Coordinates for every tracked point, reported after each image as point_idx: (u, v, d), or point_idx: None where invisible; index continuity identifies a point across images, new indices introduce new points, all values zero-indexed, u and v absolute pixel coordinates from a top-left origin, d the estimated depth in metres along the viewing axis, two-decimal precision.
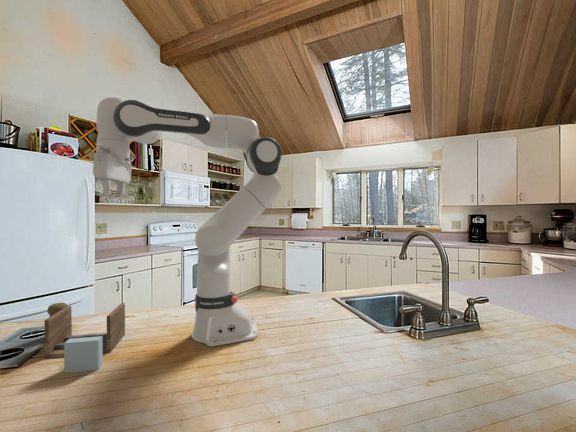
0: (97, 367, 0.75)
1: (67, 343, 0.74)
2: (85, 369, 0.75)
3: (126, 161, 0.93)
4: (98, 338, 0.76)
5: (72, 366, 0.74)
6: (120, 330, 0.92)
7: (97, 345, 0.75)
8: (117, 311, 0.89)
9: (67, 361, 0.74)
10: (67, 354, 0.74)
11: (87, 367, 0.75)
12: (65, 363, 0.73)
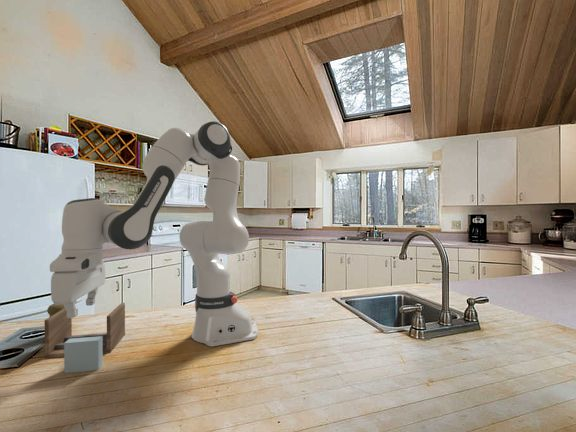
0: (97, 367, 0.75)
1: (67, 343, 0.74)
2: (85, 369, 0.75)
3: None
4: (98, 338, 0.76)
5: (72, 366, 0.74)
6: (120, 330, 0.92)
7: (97, 345, 0.75)
8: (117, 311, 0.89)
9: (67, 361, 0.74)
10: (67, 354, 0.74)
11: (87, 367, 0.75)
12: (65, 363, 0.73)
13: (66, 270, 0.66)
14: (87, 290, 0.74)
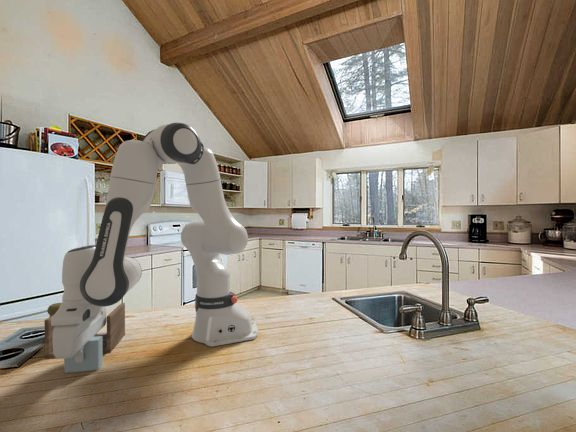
0: (97, 367, 0.75)
1: None
2: (85, 369, 0.75)
3: None
4: (98, 338, 0.76)
5: (72, 365, 0.74)
6: (120, 330, 0.92)
7: (97, 345, 0.75)
8: (117, 311, 0.89)
9: (67, 361, 0.74)
10: None
11: (87, 367, 0.75)
12: (65, 363, 0.73)
13: (67, 324, 0.67)
14: (88, 338, 0.74)
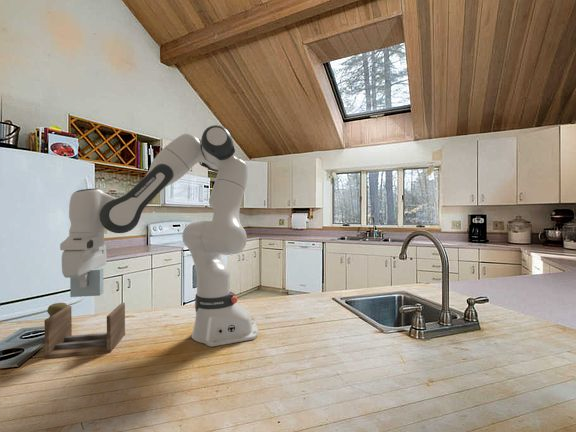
0: (98, 293, 0.87)
1: None
2: (88, 294, 0.86)
3: None
4: (99, 269, 0.88)
5: (77, 291, 0.86)
6: (120, 330, 0.92)
7: (99, 274, 0.87)
8: (117, 311, 0.89)
9: (73, 287, 0.85)
10: (73, 280, 0.85)
11: (90, 293, 0.86)
12: (71, 288, 0.85)
13: (74, 249, 0.79)
14: (91, 267, 0.86)
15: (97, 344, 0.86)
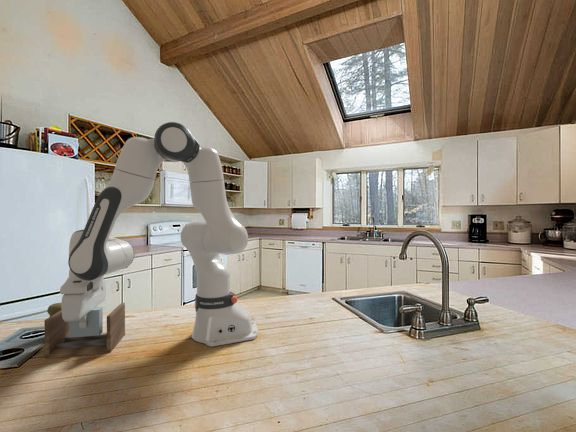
0: (98, 333, 0.87)
1: None
2: (87, 334, 0.86)
3: None
4: (98, 308, 0.88)
5: (76, 331, 0.86)
6: (120, 330, 0.92)
7: (98, 314, 0.87)
8: (117, 311, 0.89)
9: (72, 327, 0.85)
10: (72, 321, 0.85)
11: (89, 333, 0.86)
12: (70, 329, 0.85)
13: (74, 292, 0.79)
14: (91, 307, 0.86)
15: (97, 344, 0.86)
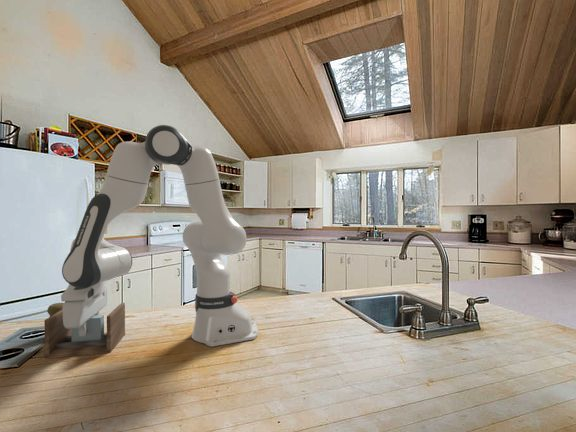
0: None
1: None
2: None
3: None
4: (100, 316, 0.89)
5: (78, 339, 0.86)
6: (120, 330, 0.92)
7: (99, 322, 0.88)
8: (117, 311, 0.89)
9: (74, 335, 0.86)
10: (74, 329, 0.86)
11: (91, 340, 0.87)
12: (72, 337, 0.86)
13: (75, 300, 0.79)
14: (92, 313, 0.87)
15: (97, 344, 0.86)
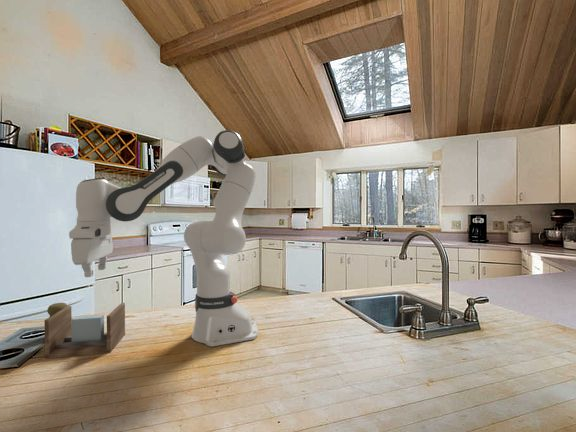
0: None
1: (74, 319, 0.86)
2: None
3: None
4: (100, 316, 0.89)
5: (78, 339, 0.86)
6: (120, 330, 0.92)
7: (99, 322, 0.88)
8: (117, 311, 0.89)
9: (74, 335, 0.86)
10: (74, 329, 0.86)
11: (91, 340, 0.87)
12: (72, 337, 0.86)
13: (83, 237, 0.81)
14: (99, 255, 0.89)
15: (97, 344, 0.86)
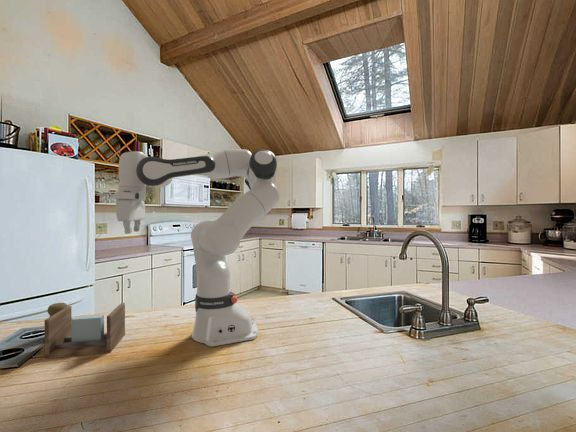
0: None
1: (74, 319, 0.86)
2: None
3: None
4: (100, 316, 0.89)
5: (78, 339, 0.86)
6: (120, 330, 0.92)
7: (99, 322, 0.88)
8: (117, 311, 0.89)
9: (74, 335, 0.86)
10: (74, 329, 0.86)
11: (91, 340, 0.87)
12: (72, 337, 0.86)
13: (125, 198, 0.96)
14: (136, 217, 1.03)
15: (97, 344, 0.86)
